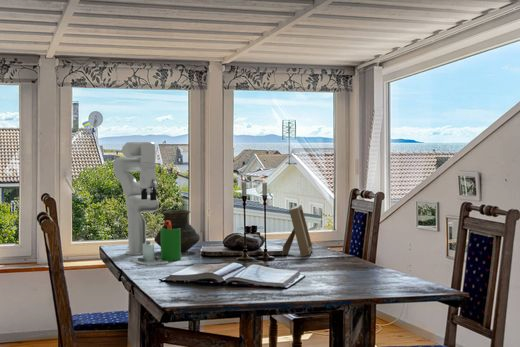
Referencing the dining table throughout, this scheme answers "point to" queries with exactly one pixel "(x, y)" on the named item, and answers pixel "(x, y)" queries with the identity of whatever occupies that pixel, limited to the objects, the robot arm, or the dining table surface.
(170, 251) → the motor
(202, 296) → the dining table surface
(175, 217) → the ceramic pot
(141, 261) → the clip bracket
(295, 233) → the photo frame
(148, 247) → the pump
